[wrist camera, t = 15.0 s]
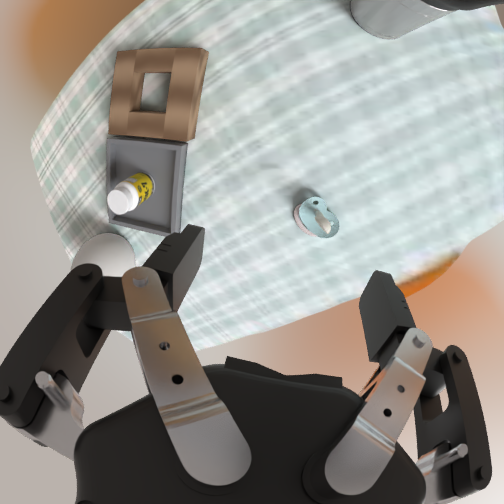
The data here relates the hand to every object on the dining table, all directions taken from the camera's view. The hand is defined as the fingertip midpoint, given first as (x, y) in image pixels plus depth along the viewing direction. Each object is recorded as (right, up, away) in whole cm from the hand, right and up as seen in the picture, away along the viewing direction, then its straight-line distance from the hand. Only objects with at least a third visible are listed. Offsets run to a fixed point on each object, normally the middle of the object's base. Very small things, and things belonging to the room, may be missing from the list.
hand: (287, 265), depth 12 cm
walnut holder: (-16, +25, +23) cm, 38 cm away
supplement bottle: (-20, +12, +31) cm, 38 cm away
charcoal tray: (-20, +12, +31) cm, 39 cm away
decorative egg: (-29, +1, +40) cm, 50 cm away
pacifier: (+8, +6, +31) cm, 32 cm away
